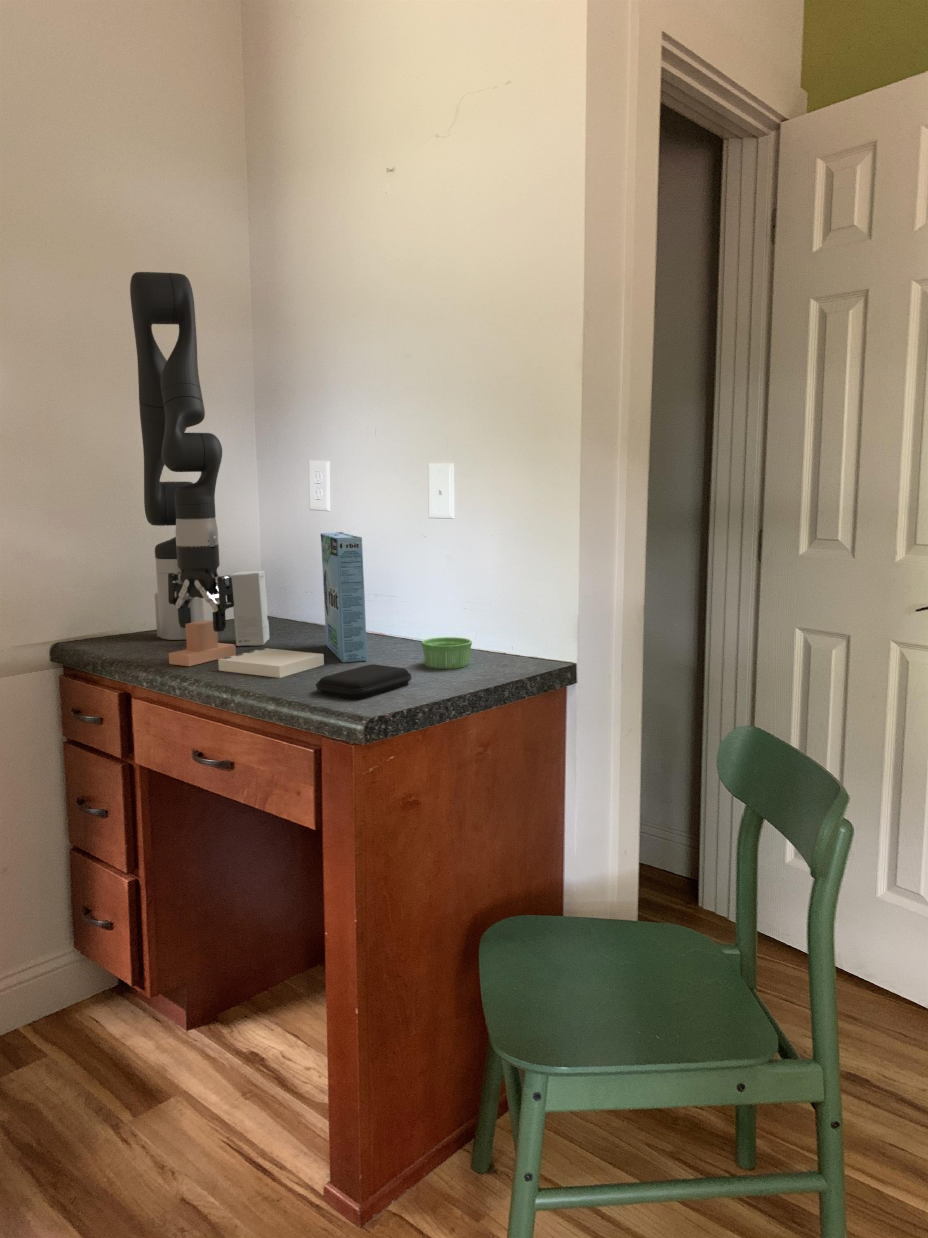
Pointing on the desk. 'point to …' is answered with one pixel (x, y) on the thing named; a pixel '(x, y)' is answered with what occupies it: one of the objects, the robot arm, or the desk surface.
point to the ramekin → (447, 652)
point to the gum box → (344, 596)
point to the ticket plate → (271, 662)
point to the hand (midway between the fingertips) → (202, 629)
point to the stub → (201, 645)
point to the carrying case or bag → (363, 681)
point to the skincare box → (250, 608)
